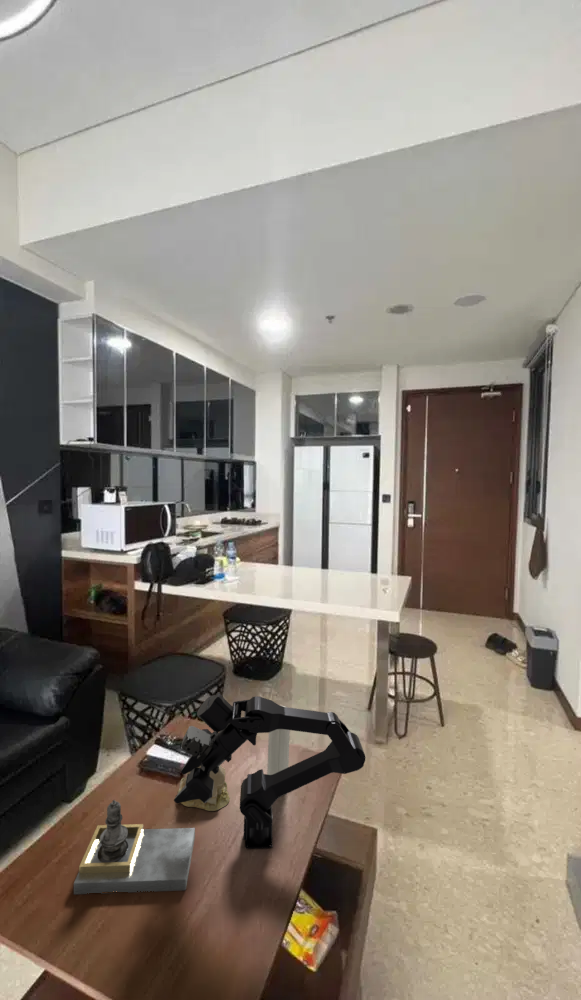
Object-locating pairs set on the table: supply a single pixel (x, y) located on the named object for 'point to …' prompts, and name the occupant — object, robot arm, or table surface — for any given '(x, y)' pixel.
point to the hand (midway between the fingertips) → (178, 786)
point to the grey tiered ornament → (113, 833)
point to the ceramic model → (219, 792)
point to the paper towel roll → (278, 750)
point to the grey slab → (138, 862)
